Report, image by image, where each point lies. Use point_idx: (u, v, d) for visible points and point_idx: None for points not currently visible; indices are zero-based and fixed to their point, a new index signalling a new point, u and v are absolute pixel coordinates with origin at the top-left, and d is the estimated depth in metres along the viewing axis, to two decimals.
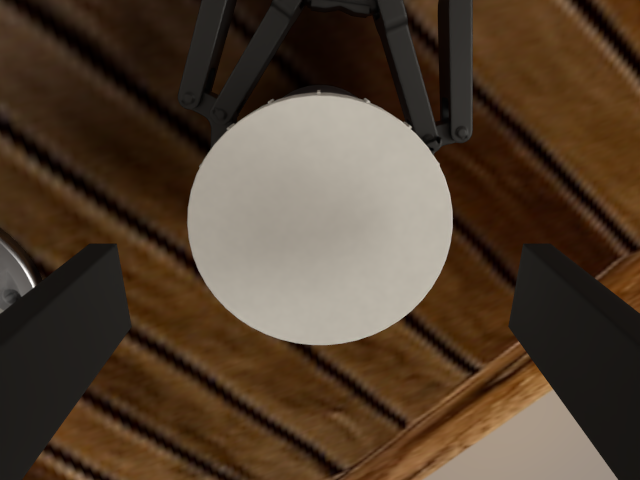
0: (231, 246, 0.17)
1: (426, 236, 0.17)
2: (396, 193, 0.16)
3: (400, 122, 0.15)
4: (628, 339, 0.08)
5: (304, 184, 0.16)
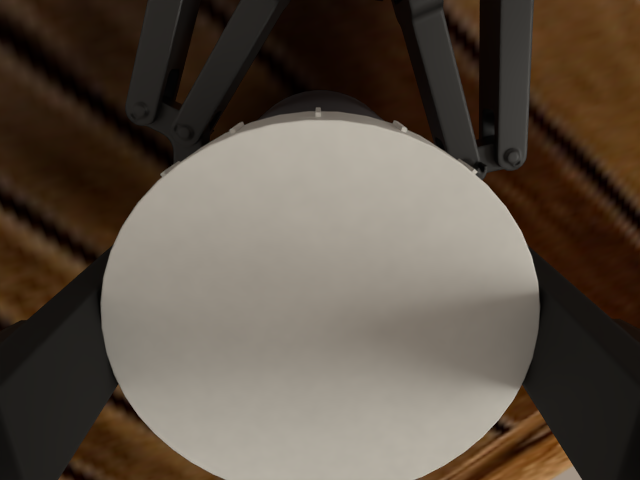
0: (175, 361, 0.11)
1: (494, 346, 0.10)
2: (448, 281, 0.10)
3: (461, 166, 0.09)
4: (578, 326, 0.09)
5: (294, 267, 0.10)
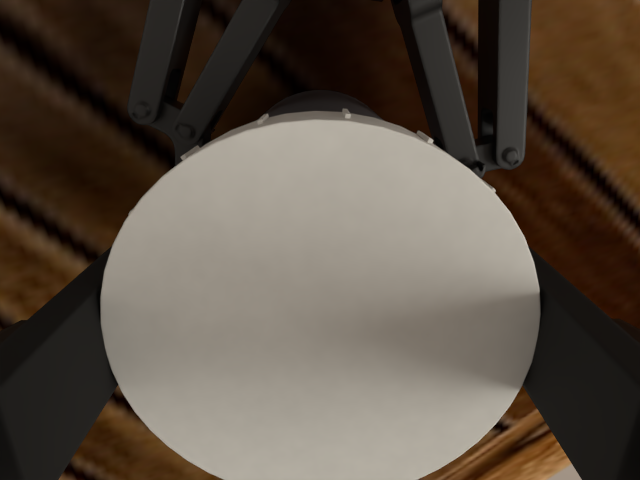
0: (301, 454, 0.12)
1: (384, 179, 0.09)
2: (285, 213, 0.09)
3: (162, 179, 0.09)
4: (578, 326, 0.09)
5: (233, 342, 0.10)
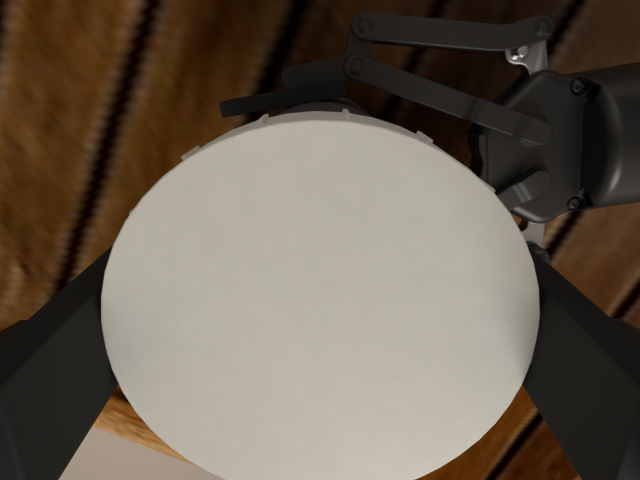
0: (301, 453, 0.12)
1: (383, 179, 0.09)
2: (285, 213, 0.09)
3: (162, 179, 0.09)
4: (577, 326, 0.09)
5: (234, 341, 0.10)
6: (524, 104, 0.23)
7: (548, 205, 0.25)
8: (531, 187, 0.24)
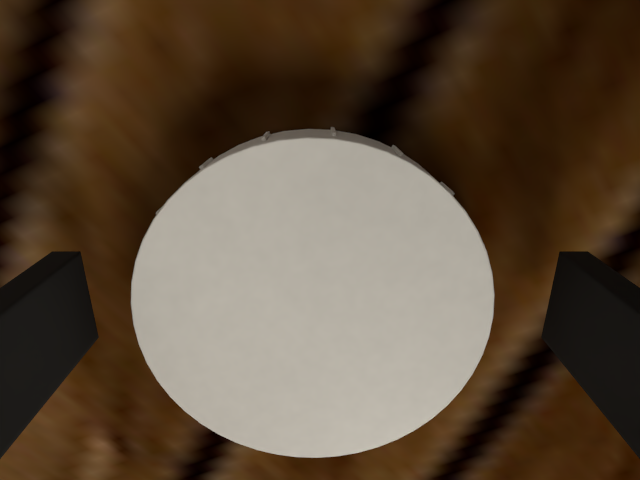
0: (298, 417, 0.14)
1: (363, 185, 0.11)
2: (284, 212, 0.11)
3: (184, 185, 0.11)
4: None
5: (241, 320, 0.12)
6: None
7: None
8: None
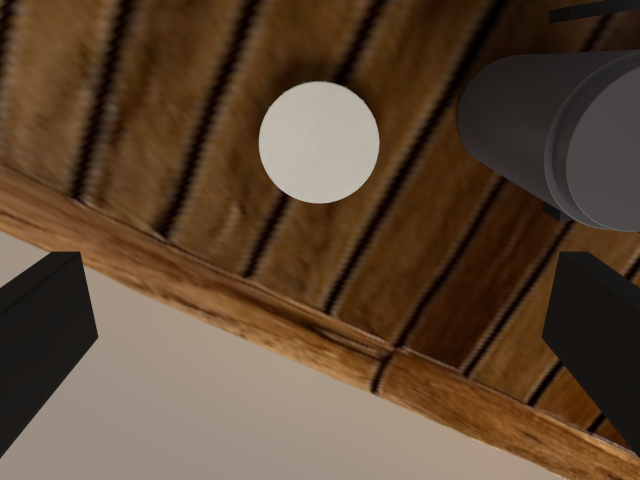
0: (313, 185, 0.39)
1: (334, 97, 0.36)
2: (310, 106, 0.36)
3: (279, 97, 0.36)
4: None
5: (295, 145, 0.37)
6: None
7: None
8: None
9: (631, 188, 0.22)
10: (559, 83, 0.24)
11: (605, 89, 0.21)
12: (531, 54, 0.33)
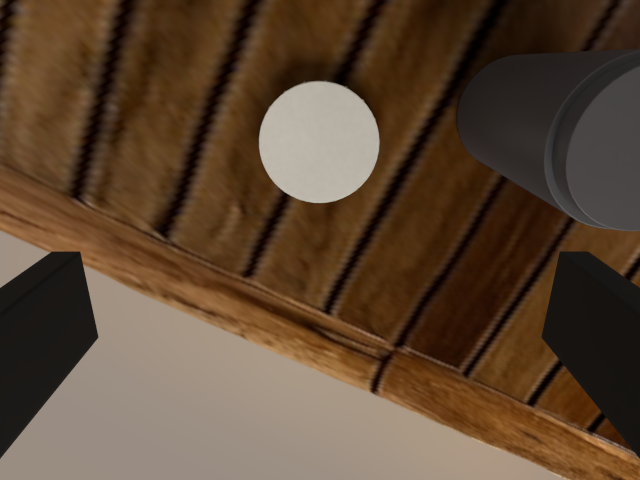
0: (313, 184, 0.39)
1: (334, 96, 0.36)
2: (310, 106, 0.36)
3: (279, 96, 0.36)
4: None
5: (295, 145, 0.37)
6: None
7: None
8: None
9: (631, 187, 0.22)
10: (559, 83, 0.24)
11: (605, 88, 0.21)
12: (531, 54, 0.33)
